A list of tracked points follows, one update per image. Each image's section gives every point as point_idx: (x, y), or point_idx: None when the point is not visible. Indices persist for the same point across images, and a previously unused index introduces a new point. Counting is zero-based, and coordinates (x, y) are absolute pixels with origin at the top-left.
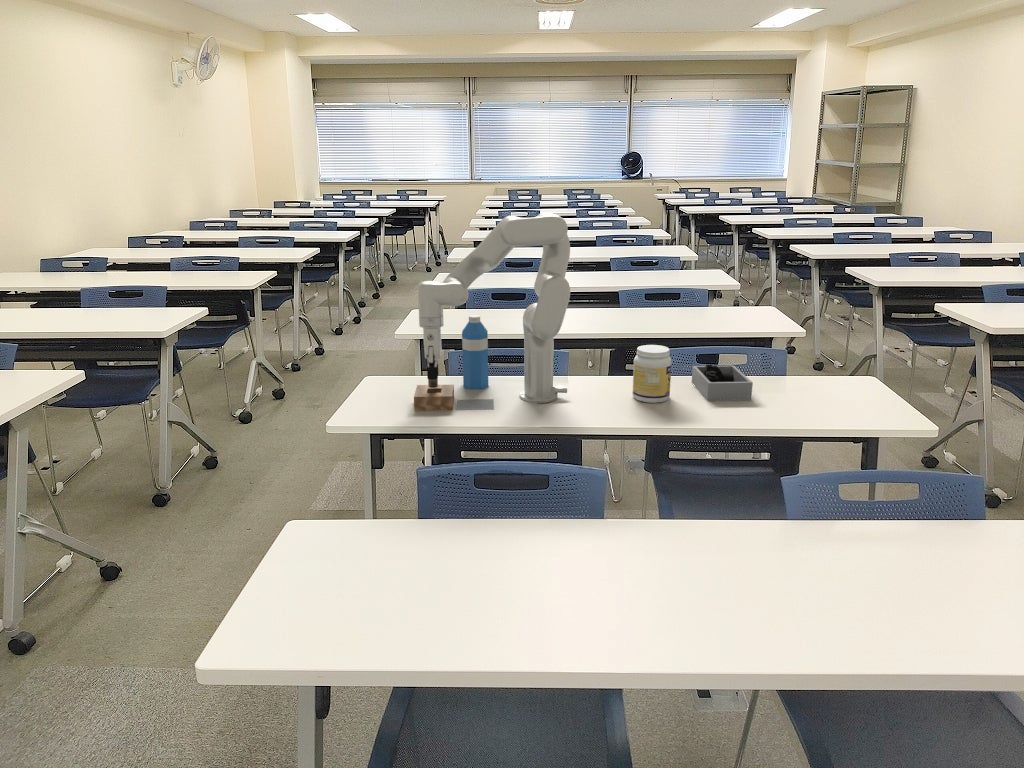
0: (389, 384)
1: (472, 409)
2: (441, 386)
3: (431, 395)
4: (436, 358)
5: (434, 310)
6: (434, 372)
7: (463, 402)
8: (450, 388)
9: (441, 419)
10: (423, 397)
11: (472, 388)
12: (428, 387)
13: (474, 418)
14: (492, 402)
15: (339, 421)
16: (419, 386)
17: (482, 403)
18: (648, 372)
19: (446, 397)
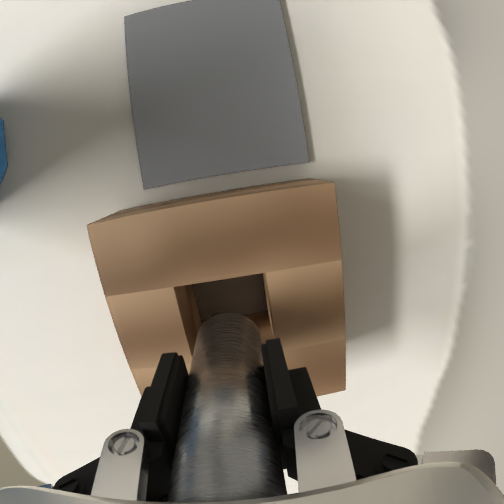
0: (58, 456)
1: (291, 78)
2: (139, 295)
3: (323, 314)
4: (244, 499)
5: None
6: (314, 392)
7: (185, 143)
8: (167, 227)
9: (411, 213)
10: (344, 346)
11: (1, 157)
12: None
13: (387, 68)
14: (173, 8)
15: None
16: None
17: (192, 46)
18: None
19: (335, 218)
